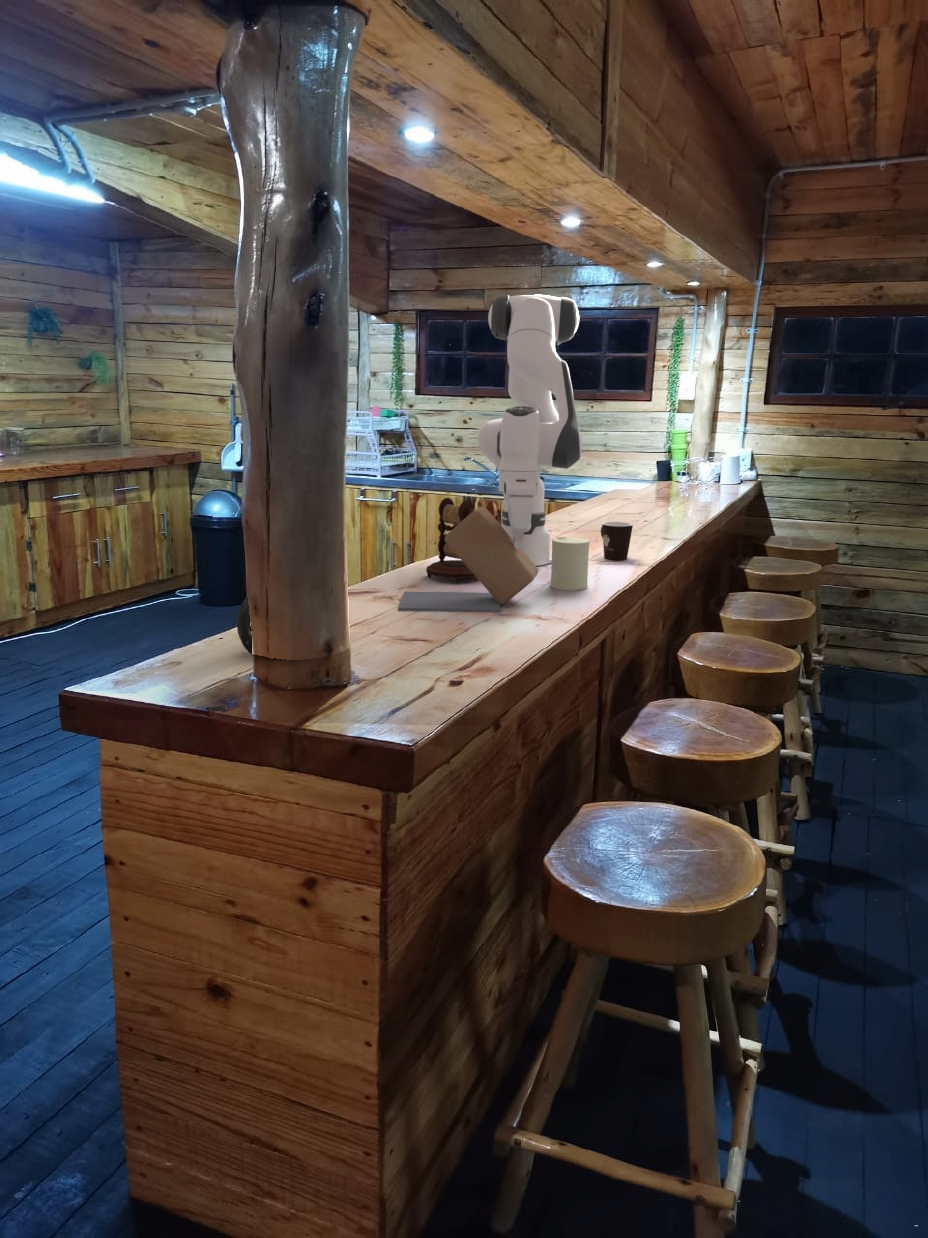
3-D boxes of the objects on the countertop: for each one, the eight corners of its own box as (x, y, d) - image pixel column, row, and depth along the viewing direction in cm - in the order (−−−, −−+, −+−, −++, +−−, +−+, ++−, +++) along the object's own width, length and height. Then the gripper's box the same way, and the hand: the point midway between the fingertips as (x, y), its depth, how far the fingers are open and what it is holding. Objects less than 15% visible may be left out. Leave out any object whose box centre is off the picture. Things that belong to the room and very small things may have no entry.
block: (535, 579, 194) (474, 509, 193) (501, 607, 197) (441, 539, 196) (541, 570, 203) (483, 503, 202) (508, 597, 206) (451, 532, 206)
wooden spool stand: (496, 577, 228) (498, 499, 222) (457, 586, 217) (458, 504, 212) (453, 569, 237) (454, 494, 232) (414, 577, 226) (414, 498, 221)
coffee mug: (633, 561, 251) (635, 526, 248) (602, 561, 251) (604, 525, 248) (626, 554, 262) (628, 520, 260) (597, 553, 262) (598, 519, 260)
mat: (404, 593, 209) (404, 591, 209) (498, 595, 208) (498, 592, 208) (398, 610, 193) (398, 607, 193) (500, 612, 193) (500, 609, 193)
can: (566, 580, 225) (568, 533, 222) (595, 586, 219) (597, 538, 216) (542, 586, 219) (543, 537, 216) (571, 592, 213) (573, 542, 210)
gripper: (503, 479, 204) (501, 539, 207) (506, 487, 184) (505, 554, 187) (530, 479, 204) (529, 540, 207) (537, 488, 184) (535, 554, 187)
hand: (517, 546), depth 197 cm, fingers open, 2 cm apart
